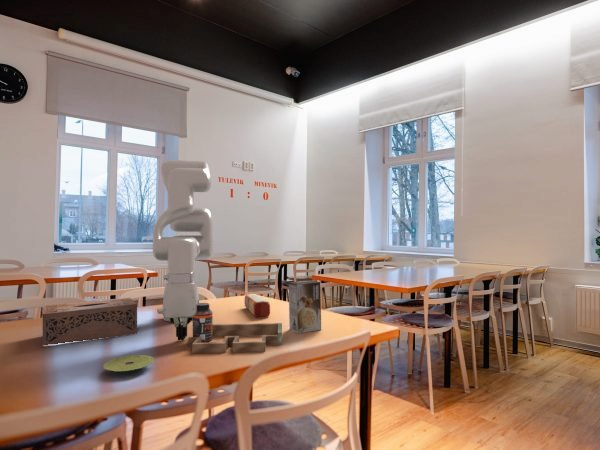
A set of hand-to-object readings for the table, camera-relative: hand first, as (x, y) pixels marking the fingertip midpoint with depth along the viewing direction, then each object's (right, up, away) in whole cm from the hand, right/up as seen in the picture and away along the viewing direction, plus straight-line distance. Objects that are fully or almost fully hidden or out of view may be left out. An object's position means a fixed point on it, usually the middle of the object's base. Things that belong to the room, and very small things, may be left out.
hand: (181, 338), depth 116 cm
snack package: (+18, -1, +39) cm, 43 cm away
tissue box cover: (-32, -2, +8) cm, 33 cm away
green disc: (-6, -1, -23) cm, 24 cm away
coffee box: (+38, -1, +12) cm, 40 cm away
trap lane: (+17, -1, -2) cm, 17 cm away
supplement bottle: (+6, -1, 0) cm, 6 cm away
